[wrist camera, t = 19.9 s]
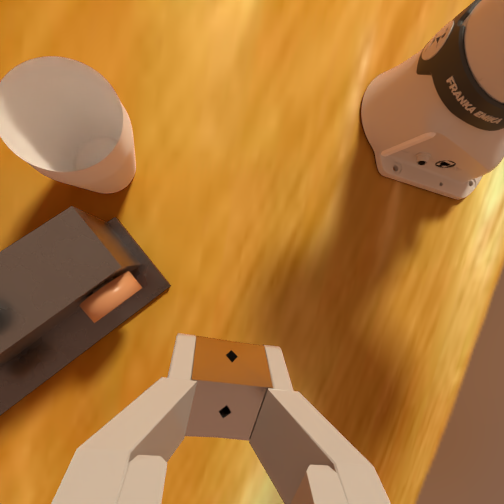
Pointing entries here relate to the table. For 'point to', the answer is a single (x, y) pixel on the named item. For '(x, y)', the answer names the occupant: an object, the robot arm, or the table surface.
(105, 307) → the knob
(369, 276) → the table surface
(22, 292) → the mount
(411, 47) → the table surface
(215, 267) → the table surface
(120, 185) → the cup
